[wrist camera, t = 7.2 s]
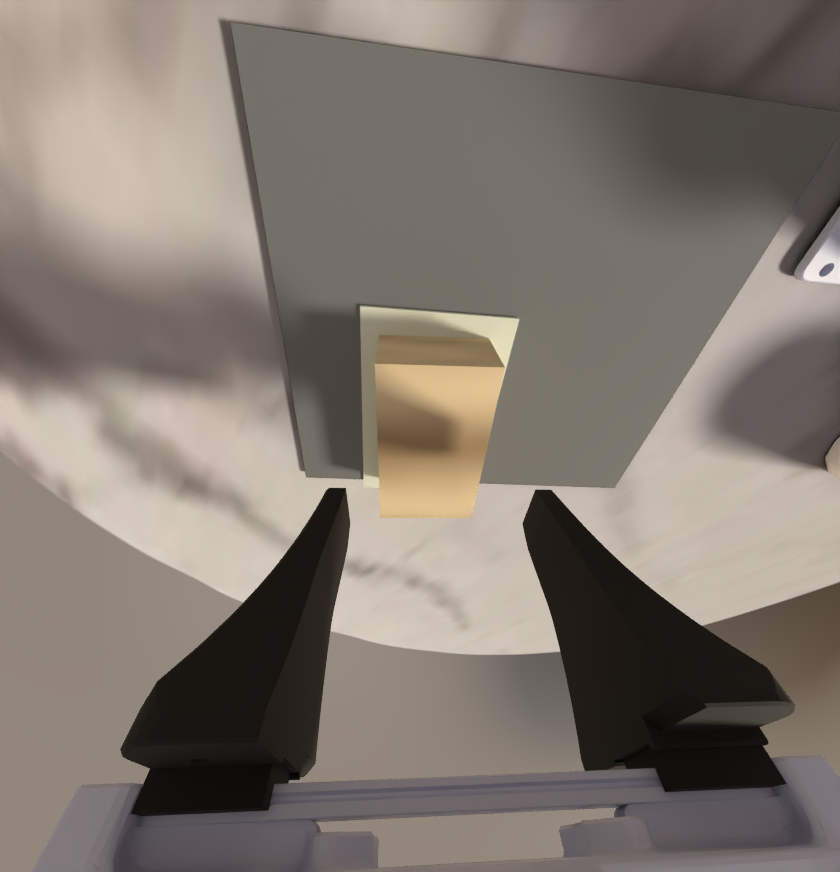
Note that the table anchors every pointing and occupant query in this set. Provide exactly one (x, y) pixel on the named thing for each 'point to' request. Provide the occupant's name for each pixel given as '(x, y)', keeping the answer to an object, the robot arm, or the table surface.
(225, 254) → the table surface
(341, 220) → the rubber mat
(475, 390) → the oak block
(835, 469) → the white cup
